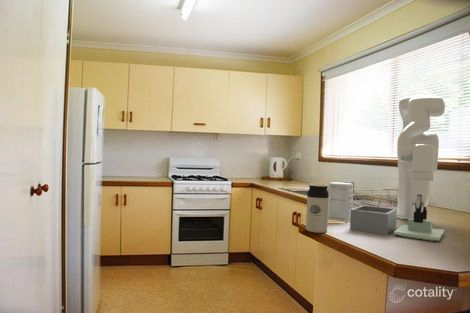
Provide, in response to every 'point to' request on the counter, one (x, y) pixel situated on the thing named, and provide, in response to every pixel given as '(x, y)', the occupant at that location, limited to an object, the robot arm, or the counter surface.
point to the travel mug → (317, 208)
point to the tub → (373, 219)
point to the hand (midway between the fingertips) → (420, 220)
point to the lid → (419, 231)
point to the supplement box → (340, 201)
